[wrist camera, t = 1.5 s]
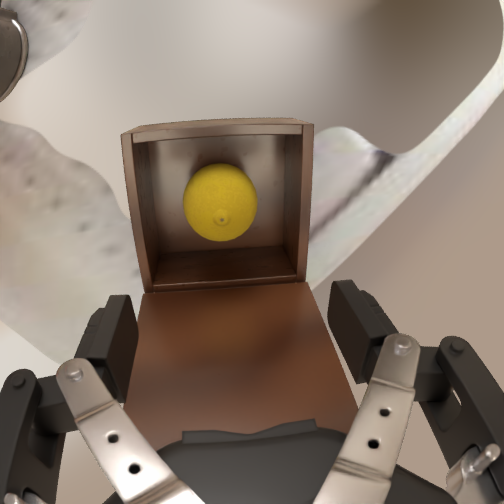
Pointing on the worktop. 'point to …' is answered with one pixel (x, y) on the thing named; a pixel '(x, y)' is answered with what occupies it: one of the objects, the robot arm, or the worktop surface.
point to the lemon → (220, 202)
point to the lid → (235, 363)
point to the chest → (172, 212)
